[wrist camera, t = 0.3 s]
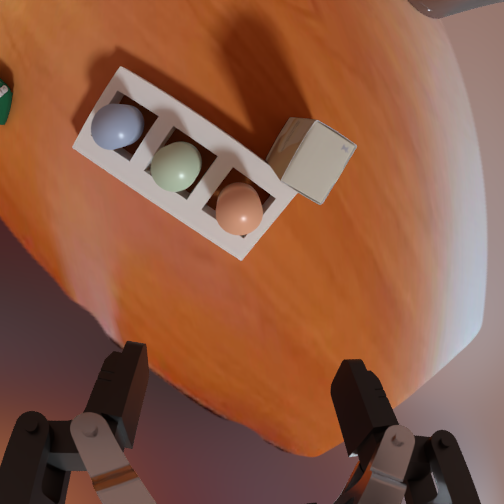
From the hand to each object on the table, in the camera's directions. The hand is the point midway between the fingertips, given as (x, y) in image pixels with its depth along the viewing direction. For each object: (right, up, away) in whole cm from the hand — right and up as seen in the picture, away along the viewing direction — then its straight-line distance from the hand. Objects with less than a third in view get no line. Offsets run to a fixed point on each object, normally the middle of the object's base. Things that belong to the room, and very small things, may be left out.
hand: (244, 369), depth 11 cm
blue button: (-14, +19, +18) cm, 30 cm away
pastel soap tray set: (-8, +16, +23) cm, 29 cm away
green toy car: (-36, +28, +16) cm, 48 cm away
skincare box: (+5, +17, +23) cm, 29 cm away
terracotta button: (-1, +10, +23) cm, 25 cm away
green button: (-8, +15, +20) cm, 26 cm away
